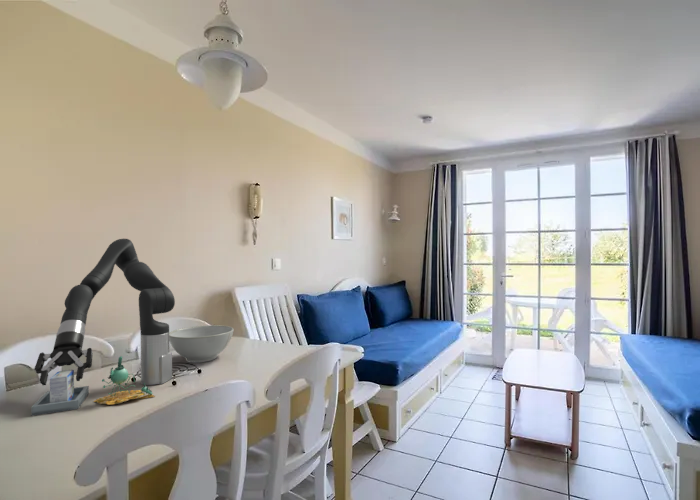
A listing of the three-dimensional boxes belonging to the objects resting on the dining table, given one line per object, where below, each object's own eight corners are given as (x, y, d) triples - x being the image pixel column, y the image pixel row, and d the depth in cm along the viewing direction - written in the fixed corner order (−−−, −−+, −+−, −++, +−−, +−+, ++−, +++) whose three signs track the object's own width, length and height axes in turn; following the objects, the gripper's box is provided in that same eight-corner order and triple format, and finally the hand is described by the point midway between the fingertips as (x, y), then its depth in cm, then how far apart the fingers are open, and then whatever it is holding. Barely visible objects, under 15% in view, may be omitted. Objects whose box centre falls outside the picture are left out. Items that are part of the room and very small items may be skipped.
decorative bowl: (246, 355, 170) (246, 328, 170) (193, 371, 148) (193, 340, 148) (208, 348, 185) (208, 323, 185) (154, 361, 162) (154, 333, 162)
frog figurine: (144, 406, 114) (137, 357, 114) (84, 414, 114) (77, 365, 114) (159, 394, 123) (154, 349, 123) (104, 401, 123) (98, 356, 123)
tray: (88, 393, 125) (88, 385, 125) (78, 408, 112) (78, 400, 112) (47, 399, 120) (47, 391, 120) (31, 415, 108) (31, 406, 108)
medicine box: (68, 405, 113) (67, 376, 113) (49, 408, 111) (49, 378, 111) (74, 396, 120) (74, 369, 120) (57, 399, 118) (57, 371, 118)
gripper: (97, 341, 131) (90, 384, 121) (46, 345, 126) (34, 391, 115) (94, 328, 127) (86, 372, 116) (41, 332, 121) (28, 379, 110)
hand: (60, 381), depth 116 cm, fingers open, 8 cm apart
